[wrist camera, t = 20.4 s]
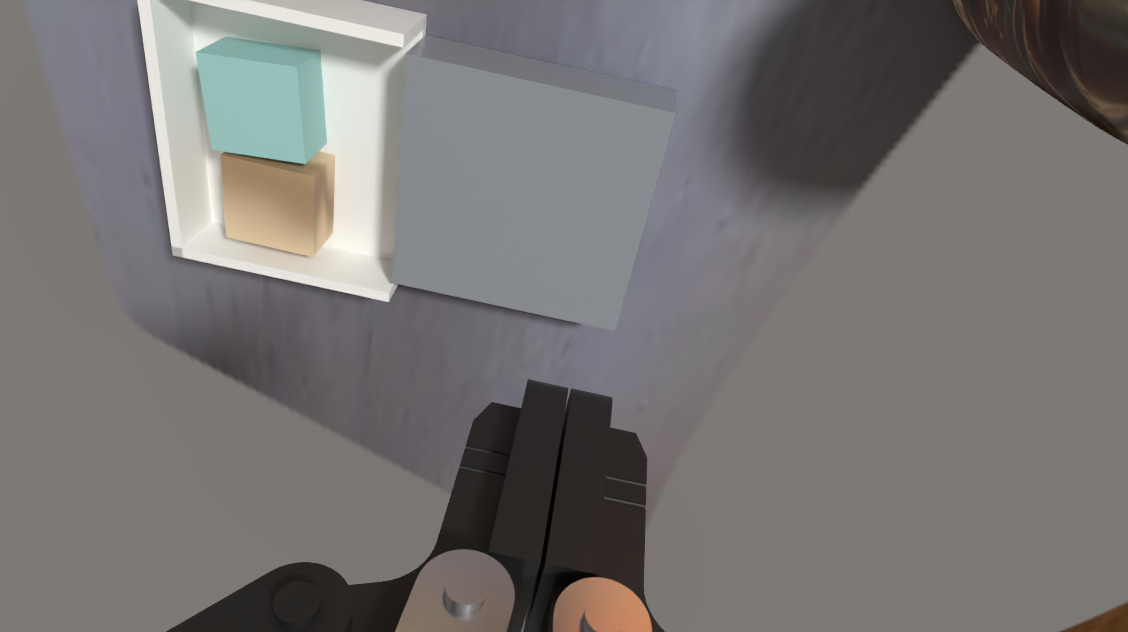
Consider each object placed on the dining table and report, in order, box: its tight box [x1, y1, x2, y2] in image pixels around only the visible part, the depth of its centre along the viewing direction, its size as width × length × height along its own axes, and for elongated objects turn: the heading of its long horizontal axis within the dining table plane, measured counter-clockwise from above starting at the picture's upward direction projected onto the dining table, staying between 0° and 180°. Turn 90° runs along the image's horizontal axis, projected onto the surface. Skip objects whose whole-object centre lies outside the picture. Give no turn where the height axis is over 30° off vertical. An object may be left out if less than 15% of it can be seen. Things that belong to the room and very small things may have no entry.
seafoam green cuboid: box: [195, 37, 327, 164], centre depth 38 cm, size 5×5×3 cm
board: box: [392, 35, 676, 331], centre depth 40 cm, size 13×13×4 cm
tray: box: [137, 0, 427, 302], centre depth 40 cm, size 15×12×4 cm
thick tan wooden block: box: [220, 151, 335, 257], centre depth 42 cm, size 5×5×3 cm
